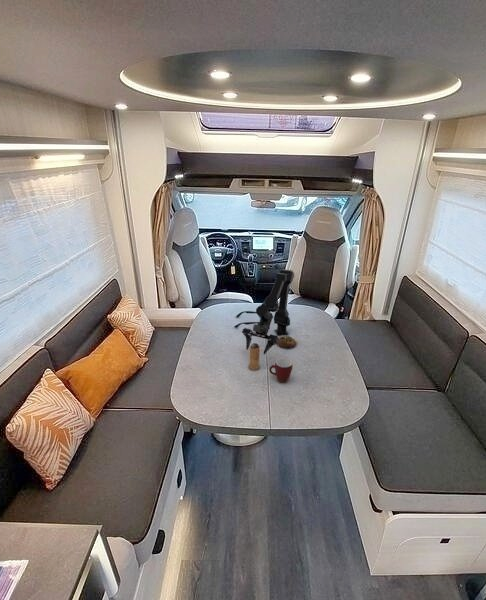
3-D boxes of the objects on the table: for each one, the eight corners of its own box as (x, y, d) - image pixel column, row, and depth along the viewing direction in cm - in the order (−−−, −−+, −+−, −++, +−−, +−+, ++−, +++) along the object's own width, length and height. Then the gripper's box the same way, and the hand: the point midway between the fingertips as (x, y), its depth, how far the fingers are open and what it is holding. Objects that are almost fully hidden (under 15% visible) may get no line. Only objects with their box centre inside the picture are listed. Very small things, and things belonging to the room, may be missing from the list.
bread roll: (282, 350, 171) (282, 341, 170) (273, 342, 181) (273, 334, 180) (299, 347, 176) (300, 338, 174) (290, 340, 186) (290, 332, 184)
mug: (268, 384, 145) (269, 366, 141) (269, 374, 152) (269, 356, 148) (291, 386, 144) (293, 368, 140) (290, 375, 151) (292, 357, 147)
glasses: (262, 330, 194) (263, 323, 192) (234, 328, 193) (234, 321, 191) (262, 318, 209) (263, 311, 207) (236, 316, 209) (236, 309, 207)
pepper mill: (248, 365, 158) (248, 342, 153) (257, 364, 159) (258, 342, 154) (250, 370, 154) (250, 348, 149) (259, 369, 155) (260, 347, 150)
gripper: (243, 313, 155) (233, 342, 150) (278, 321, 149) (268, 352, 144) (250, 321, 165) (240, 349, 160) (283, 329, 158) (274, 358, 153)
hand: (255, 352), depth 154 cm, fingers open, 9 cm apart
